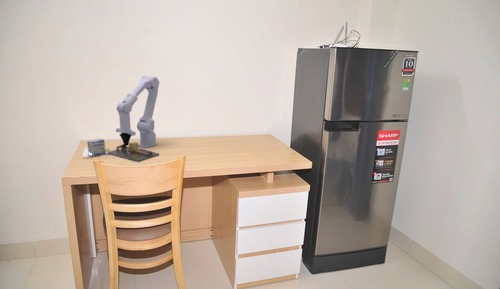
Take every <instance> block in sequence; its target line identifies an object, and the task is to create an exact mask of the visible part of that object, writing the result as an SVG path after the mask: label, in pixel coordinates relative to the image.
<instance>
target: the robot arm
mask: <svg viewBox="0 0 500 289" xmlns="http://www.w3.org/2000/svg"><path fill="white" fill-rule="evenodd" d="M159 86H160V80H159V78H158V77H157V76H147V75H142V77H140V79H139V83H138V84H137V86H136V87H135V89H134V90H133V91H132V92H130V93H127V95H126V96H125V97H124V99H123V100H122V102H119V103H118V104H117V105H116V111H117V113H118V115H119V127H118V128H116V129H115V132H116V133H119V137H120V138H121V140H122V142H123V144H124V145H125V146H127V147H128V146H129V143H130V140H131V137H132V136H133V137H134V136H136V131H134V130H132V129H131V116H130V113H131V112H132V109H133V106H134V105H135V103H136V102H137V101H138V96H139V95H140V94H141V93H143V92H144V90H147V93H148V94H147V98H146V102H145V107H144V111H143V116H141V117H140V118H139V120H138V122H137V124H136V129H137V130H138V132H139V139H140V143H138V147H142V148H150V147H153V146H157V145H158V143H157V139H156V138H157V136H156V132H155V131H154V130H155V120H154V119H153V115H154V110H155V107H156V102H157V98H158V93H159Z"/></svg>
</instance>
